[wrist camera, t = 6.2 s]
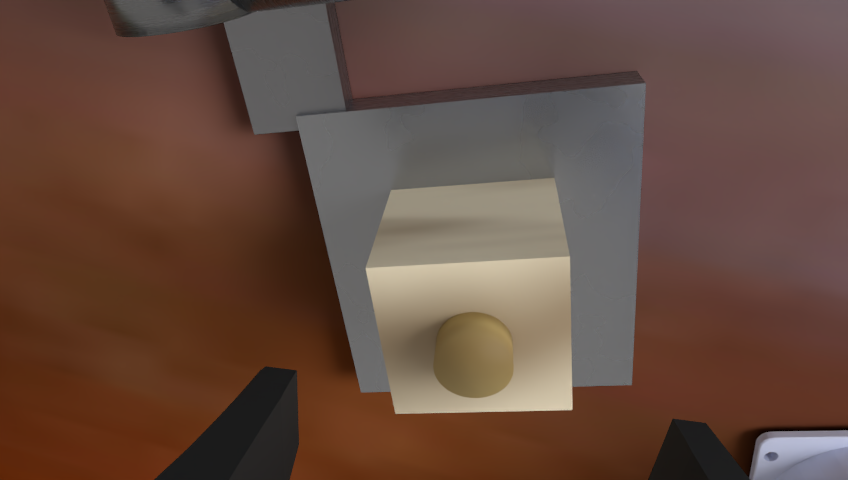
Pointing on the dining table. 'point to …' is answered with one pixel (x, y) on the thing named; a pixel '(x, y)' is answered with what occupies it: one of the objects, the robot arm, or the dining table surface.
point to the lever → (186, 13)
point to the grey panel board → (456, 169)
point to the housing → (474, 298)
